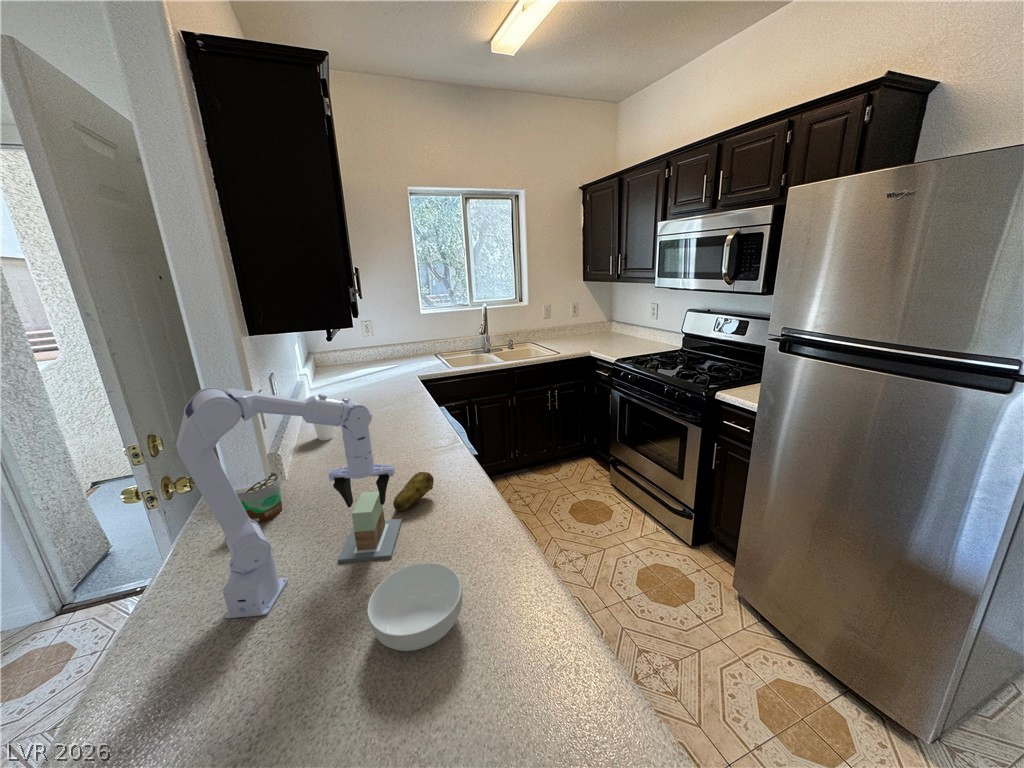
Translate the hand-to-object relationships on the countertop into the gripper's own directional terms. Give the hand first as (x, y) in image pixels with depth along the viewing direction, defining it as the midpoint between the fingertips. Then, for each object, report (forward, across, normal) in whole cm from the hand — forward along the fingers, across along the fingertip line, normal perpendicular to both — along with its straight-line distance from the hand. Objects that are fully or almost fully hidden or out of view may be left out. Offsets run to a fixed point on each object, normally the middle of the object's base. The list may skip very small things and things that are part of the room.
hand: (366, 503), depth 95 cm
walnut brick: (+10, 0, 0) cm, 10 cm away
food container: (+11, +31, -15) cm, 36 cm away
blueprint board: (+10, 0, 0) cm, 10 cm away
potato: (+11, -8, -16) cm, 21 cm away
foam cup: (+11, +35, -69) cm, 78 cm away
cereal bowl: (+11, -15, +26) cm, 32 cm away
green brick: (+5, 0, 0) cm, 5 cm away
